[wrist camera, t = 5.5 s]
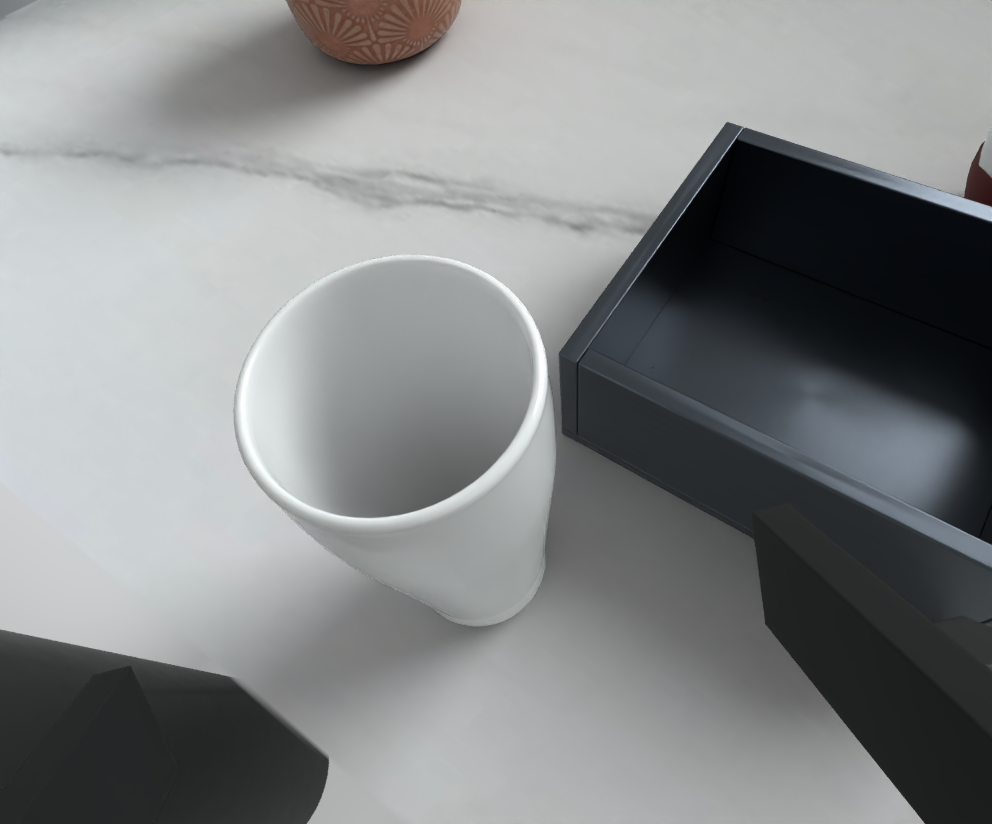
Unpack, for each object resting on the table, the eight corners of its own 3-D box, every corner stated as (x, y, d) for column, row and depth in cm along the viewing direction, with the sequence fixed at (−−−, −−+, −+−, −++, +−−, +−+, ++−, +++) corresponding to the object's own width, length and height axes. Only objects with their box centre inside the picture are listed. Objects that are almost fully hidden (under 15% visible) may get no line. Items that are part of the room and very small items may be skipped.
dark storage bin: (561, 433, 29) (557, 353, 23) (700, 230, 33) (726, 120, 27) (957, 650, 23) (1086, 618, 17) (1060, 371, 27) (1190, 270, 22)
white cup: (514, 682, 24) (438, 604, 11) (369, 596, 26) (158, 443, 13) (592, 527, 26) (608, 308, 13) (453, 460, 29) (348, 213, 15)
